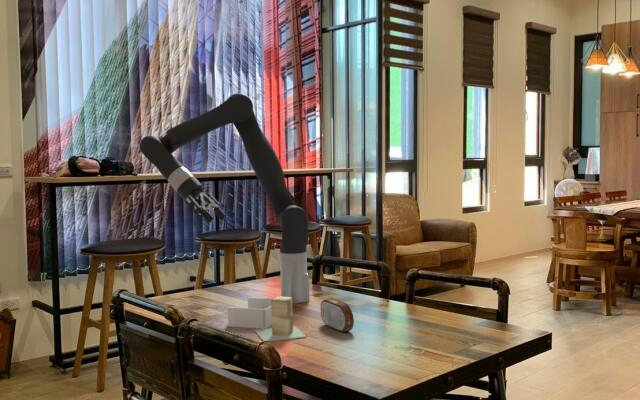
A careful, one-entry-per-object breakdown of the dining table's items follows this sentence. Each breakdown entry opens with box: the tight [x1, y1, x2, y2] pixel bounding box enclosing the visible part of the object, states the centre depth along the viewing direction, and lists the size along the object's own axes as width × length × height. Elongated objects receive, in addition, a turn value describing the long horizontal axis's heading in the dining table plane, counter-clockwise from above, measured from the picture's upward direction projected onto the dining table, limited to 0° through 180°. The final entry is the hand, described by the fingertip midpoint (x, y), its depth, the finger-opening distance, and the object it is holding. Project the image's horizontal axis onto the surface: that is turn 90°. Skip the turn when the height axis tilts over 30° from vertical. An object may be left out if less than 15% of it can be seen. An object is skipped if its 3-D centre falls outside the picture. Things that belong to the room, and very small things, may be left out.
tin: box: [320, 297, 355, 333], centre depth 195 cm, size 15×3×8 cm, turn 29°
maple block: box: [271, 295, 294, 336], centre depth 189 cm, size 4×4×10 cm
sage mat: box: [254, 325, 307, 343], centre depth 190 cm, size 12×12×1 cm
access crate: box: [226, 296, 275, 329], centre depth 206 cm, size 13×15×6 cm
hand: (218, 219), depth 214 cm, fingers open, 8 cm apart
